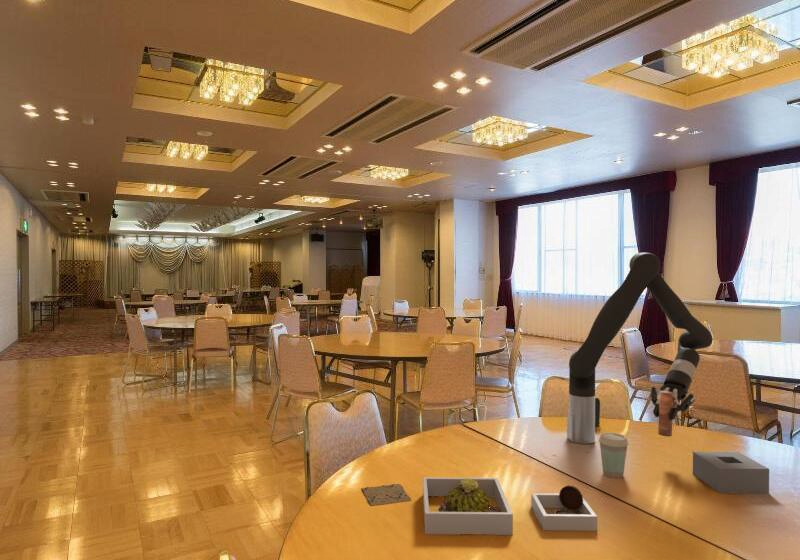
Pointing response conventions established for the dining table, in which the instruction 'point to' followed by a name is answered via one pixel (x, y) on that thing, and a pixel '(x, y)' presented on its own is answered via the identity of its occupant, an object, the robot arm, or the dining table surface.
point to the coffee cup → (613, 454)
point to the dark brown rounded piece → (569, 500)
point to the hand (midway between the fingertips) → (662, 417)
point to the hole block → (731, 472)
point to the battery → (597, 411)
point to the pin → (665, 413)
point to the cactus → (467, 499)
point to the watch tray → (562, 521)
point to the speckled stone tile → (385, 494)
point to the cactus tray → (466, 520)
